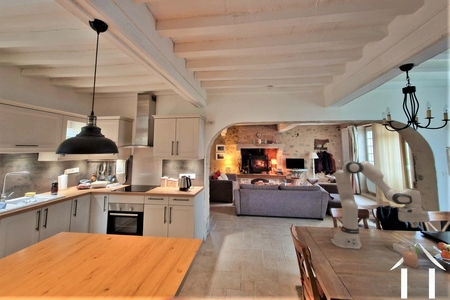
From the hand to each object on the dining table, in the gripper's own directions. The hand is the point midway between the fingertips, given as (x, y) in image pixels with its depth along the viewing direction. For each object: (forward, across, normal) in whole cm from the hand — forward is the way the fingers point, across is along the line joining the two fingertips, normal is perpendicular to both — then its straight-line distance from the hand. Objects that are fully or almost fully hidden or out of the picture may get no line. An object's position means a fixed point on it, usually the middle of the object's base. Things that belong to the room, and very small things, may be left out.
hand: (414, 227), depth 136 cm
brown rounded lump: (+19, +19, +16) cm, 32 cm away
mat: (+19, +9, 0) cm, 21 cm away
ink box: (+16, +2, 0) cm, 16 cm away
